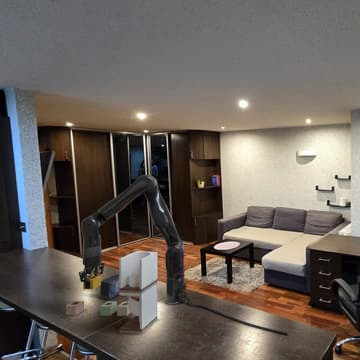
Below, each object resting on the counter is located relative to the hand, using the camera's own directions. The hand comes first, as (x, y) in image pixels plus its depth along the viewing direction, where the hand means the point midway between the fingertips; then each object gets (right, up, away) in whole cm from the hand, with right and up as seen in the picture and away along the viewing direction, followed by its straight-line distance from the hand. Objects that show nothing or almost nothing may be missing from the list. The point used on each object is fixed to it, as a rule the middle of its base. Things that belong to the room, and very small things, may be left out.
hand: (92, 286), depth 141 cm
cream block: (+17, -15, +1) cm, 22 cm away
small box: (-4, -13, +19) cm, 24 cm away
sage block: (+8, -14, +1) cm, 17 cm away
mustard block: (0, 0, 0) cm, 0 cm away
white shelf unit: (+31, -16, -10) cm, 36 cm away
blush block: (-9, -14, 0) cm, 17 cm away
